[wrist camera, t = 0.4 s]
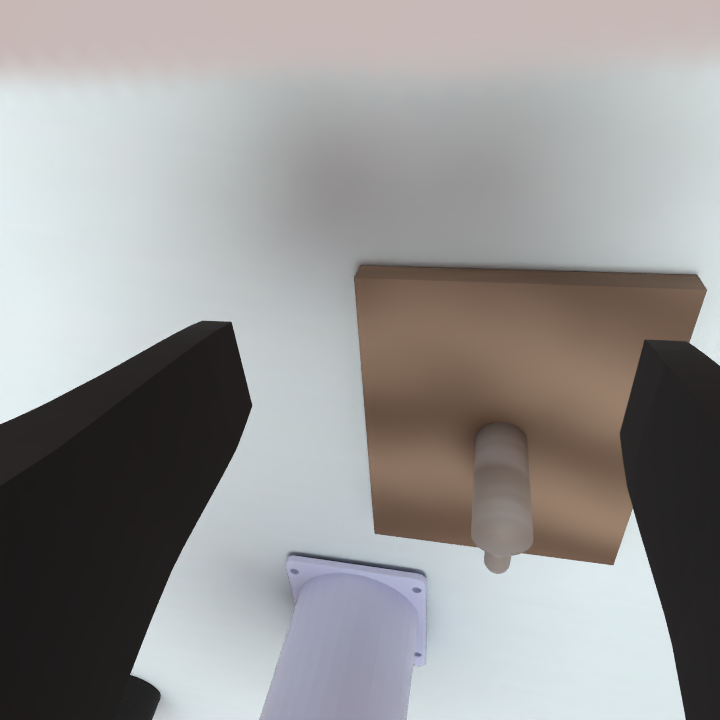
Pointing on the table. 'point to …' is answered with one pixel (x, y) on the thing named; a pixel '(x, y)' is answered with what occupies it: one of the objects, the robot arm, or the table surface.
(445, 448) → the board
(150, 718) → the drinking cup
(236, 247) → the table surface
